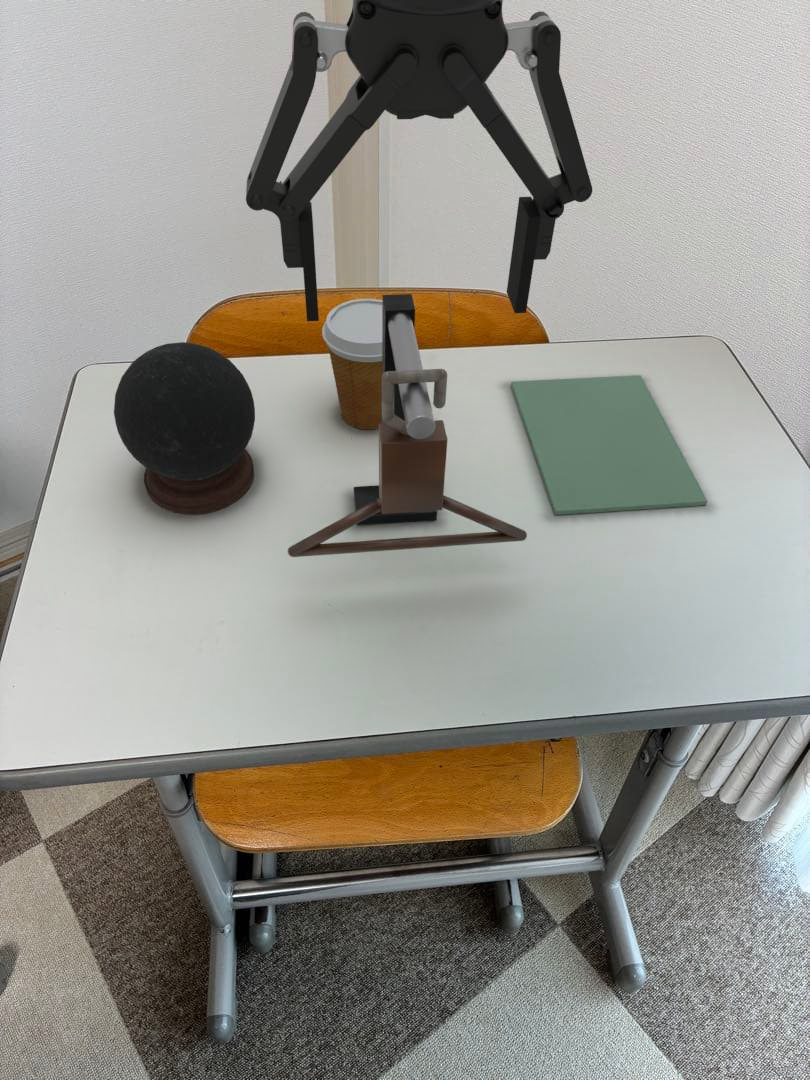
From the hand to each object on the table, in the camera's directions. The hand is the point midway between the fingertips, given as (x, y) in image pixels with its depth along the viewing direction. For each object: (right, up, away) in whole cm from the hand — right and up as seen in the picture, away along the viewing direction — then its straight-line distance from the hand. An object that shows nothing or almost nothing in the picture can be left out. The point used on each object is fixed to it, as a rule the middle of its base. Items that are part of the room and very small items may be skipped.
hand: (415, 306), depth 53 cm
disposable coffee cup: (-5, -1, +39) cm, 39 cm away
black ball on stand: (-22, -9, +31) cm, 39 cm away
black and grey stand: (-1, -17, +24) cm, 29 cm away
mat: (+21, -4, +36) cm, 42 cm away
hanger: (0, -16, +17) cm, 23 cm away
